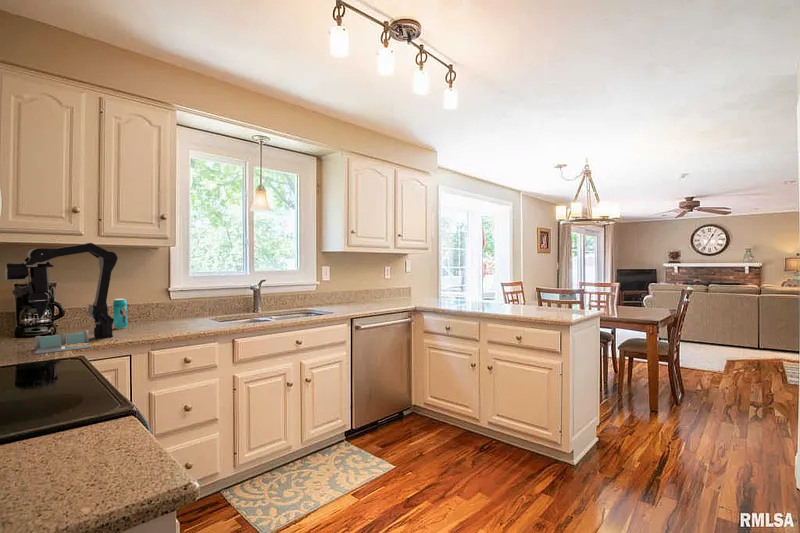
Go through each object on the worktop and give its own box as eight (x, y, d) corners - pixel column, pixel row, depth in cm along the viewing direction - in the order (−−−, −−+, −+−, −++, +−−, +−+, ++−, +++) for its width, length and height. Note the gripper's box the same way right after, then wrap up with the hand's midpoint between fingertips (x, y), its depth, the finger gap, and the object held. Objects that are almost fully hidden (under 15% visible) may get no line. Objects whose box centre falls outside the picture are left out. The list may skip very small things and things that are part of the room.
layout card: (88, 340, 187) (88, 339, 187) (89, 347, 173) (89, 346, 173) (37, 346, 177) (37, 345, 177) (34, 354, 163) (34, 353, 163)
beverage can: (120, 329, 214) (119, 299, 213) (111, 328, 215) (110, 299, 214) (130, 327, 219) (129, 298, 219) (120, 326, 221) (119, 298, 220)
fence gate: (65, 344, 178) (65, 333, 178) (65, 344, 176) (65, 333, 176) (35, 347, 172) (35, 336, 172) (35, 348, 171) (35, 336, 170)
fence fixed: (88, 342, 182) (88, 330, 182) (88, 342, 181) (88, 330, 181) (66, 344, 178) (66, 332, 178) (66, 345, 177) (66, 333, 176)
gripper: (16, 278, 179) (18, 315, 180) (9, 281, 164) (12, 321, 165) (50, 276, 186) (52, 312, 187) (46, 279, 171) (49, 317, 172)
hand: (41, 315), depth 177 cm, fingers open, 9 cm apart
